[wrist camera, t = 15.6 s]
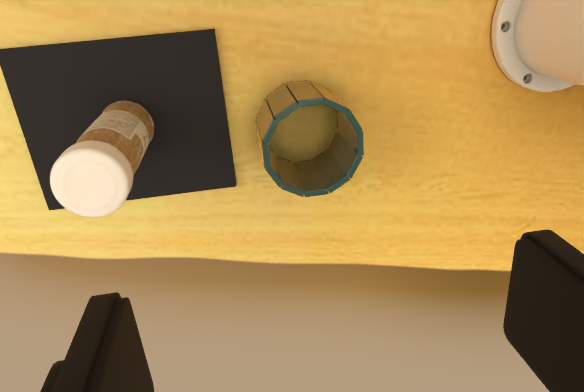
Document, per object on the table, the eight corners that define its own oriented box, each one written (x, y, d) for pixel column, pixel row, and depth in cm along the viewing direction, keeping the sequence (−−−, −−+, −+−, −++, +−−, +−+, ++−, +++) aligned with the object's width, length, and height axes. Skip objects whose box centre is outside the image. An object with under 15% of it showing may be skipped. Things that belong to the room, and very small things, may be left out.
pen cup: (340, 76, 41) (362, 93, 35) (343, 160, 45) (364, 189, 38) (251, 86, 41) (257, 105, 34) (261, 170, 44) (268, 202, 38)
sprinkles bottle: (146, 157, 41) (116, 229, 29) (93, 139, 40) (39, 206, 28) (162, 110, 40) (138, 165, 28) (108, 89, 38) (57, 138, 26)
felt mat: (214, 28, 38) (214, 29, 38) (236, 184, 44) (236, 186, 44) (-2, 49, 37) (-6, 50, 36) (51, 207, 43) (48, 210, 42)
